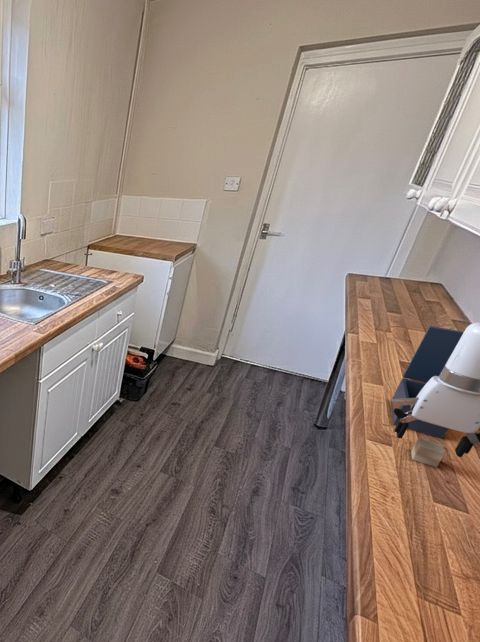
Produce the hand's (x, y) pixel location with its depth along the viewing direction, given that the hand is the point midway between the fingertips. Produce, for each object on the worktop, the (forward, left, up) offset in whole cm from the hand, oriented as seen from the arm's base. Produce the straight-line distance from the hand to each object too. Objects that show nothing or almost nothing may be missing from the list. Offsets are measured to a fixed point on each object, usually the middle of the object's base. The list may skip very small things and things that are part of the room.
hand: (427, 444), depth 95 cm
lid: (-3, -28, +12) cm, 30 cm away
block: (-1, 0, -4) cm, 4 cm away
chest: (-3, -22, -4) cm, 22 cm away
